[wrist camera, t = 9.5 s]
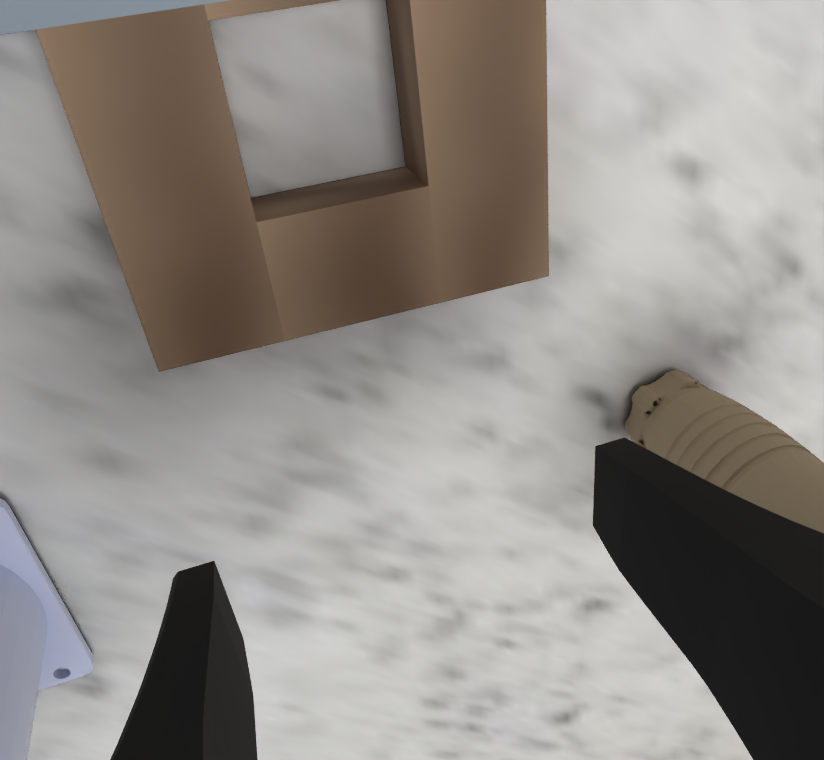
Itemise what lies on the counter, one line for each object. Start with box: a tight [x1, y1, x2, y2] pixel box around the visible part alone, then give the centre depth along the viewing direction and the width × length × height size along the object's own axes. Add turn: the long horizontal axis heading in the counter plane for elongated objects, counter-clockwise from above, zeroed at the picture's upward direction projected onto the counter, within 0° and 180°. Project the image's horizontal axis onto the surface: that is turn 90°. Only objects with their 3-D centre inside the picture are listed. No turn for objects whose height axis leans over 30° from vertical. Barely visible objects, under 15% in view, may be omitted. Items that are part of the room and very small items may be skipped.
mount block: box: [36, 0, 549, 372], centre depth 17 cm, size 11×11×2 cm
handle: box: [625, 371, 824, 533], centre depth 21 cm, size 5×6×15 cm
